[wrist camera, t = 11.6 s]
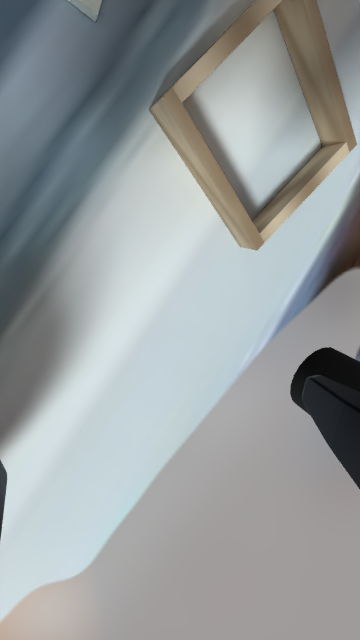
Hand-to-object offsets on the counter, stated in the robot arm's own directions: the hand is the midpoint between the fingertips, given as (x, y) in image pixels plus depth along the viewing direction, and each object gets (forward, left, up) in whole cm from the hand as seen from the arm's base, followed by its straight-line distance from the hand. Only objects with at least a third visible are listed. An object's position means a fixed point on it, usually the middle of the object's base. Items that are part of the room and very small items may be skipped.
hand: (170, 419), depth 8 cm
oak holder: (+13, +8, -12) cm, 20 cm away
